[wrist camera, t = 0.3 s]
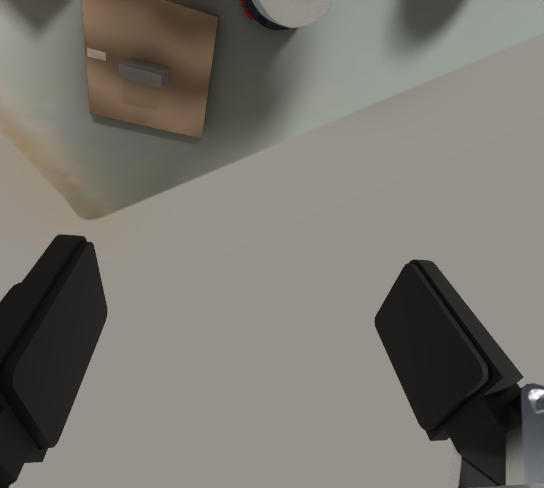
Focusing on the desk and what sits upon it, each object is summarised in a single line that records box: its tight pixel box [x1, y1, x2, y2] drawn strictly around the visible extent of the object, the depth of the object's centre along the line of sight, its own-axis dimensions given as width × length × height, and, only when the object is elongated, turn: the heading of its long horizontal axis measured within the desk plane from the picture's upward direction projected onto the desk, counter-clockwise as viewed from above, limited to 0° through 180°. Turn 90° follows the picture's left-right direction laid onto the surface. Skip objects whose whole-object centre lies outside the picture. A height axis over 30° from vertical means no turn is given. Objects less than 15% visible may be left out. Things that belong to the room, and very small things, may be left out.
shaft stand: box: [82, 0, 219, 139], centre depth 33 cm, size 13×13×7 cm
